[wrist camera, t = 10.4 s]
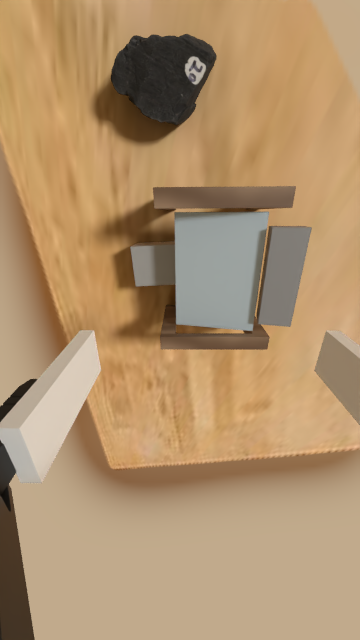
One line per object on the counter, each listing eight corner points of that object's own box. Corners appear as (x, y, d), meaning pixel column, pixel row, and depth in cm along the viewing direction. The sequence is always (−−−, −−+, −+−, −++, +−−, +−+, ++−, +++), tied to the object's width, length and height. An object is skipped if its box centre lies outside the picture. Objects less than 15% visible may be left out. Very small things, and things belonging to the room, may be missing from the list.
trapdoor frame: (162, 195, 35) (153, 187, 25) (261, 194, 35) (295, 186, 24) (166, 315, 44) (160, 349, 33) (246, 315, 44) (267, 349, 33)
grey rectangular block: (184, 240, 38) (136, 242, 39) (184, 243, 34) (130, 246, 34) (186, 276, 41) (141, 278, 41) (186, 283, 36) (135, 286, 37)
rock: (161, 6, 27) (155, -41, 22) (219, 66, 29) (225, 35, 24) (118, 99, 31) (105, 77, 26) (172, 146, 33) (170, 134, 28)
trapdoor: (178, 212, 30) (172, 212, 28) (307, 211, 27) (315, 211, 25) (179, 318, 37) (174, 327, 34) (283, 327, 34) (287, 337, 31)
